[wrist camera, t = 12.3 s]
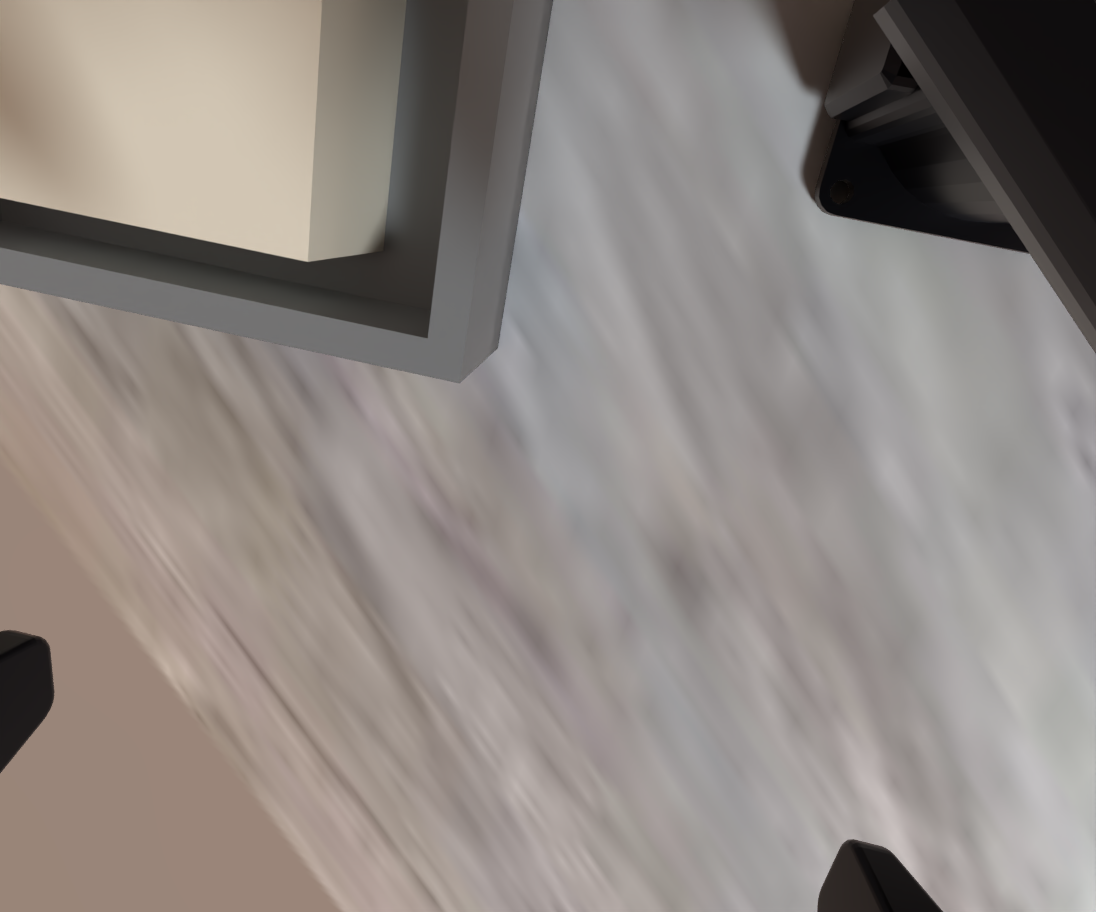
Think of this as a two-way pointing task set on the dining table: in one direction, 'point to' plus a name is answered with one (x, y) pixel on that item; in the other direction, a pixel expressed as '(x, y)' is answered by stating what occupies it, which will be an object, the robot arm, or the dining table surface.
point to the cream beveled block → (206, 117)
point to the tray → (359, 280)
